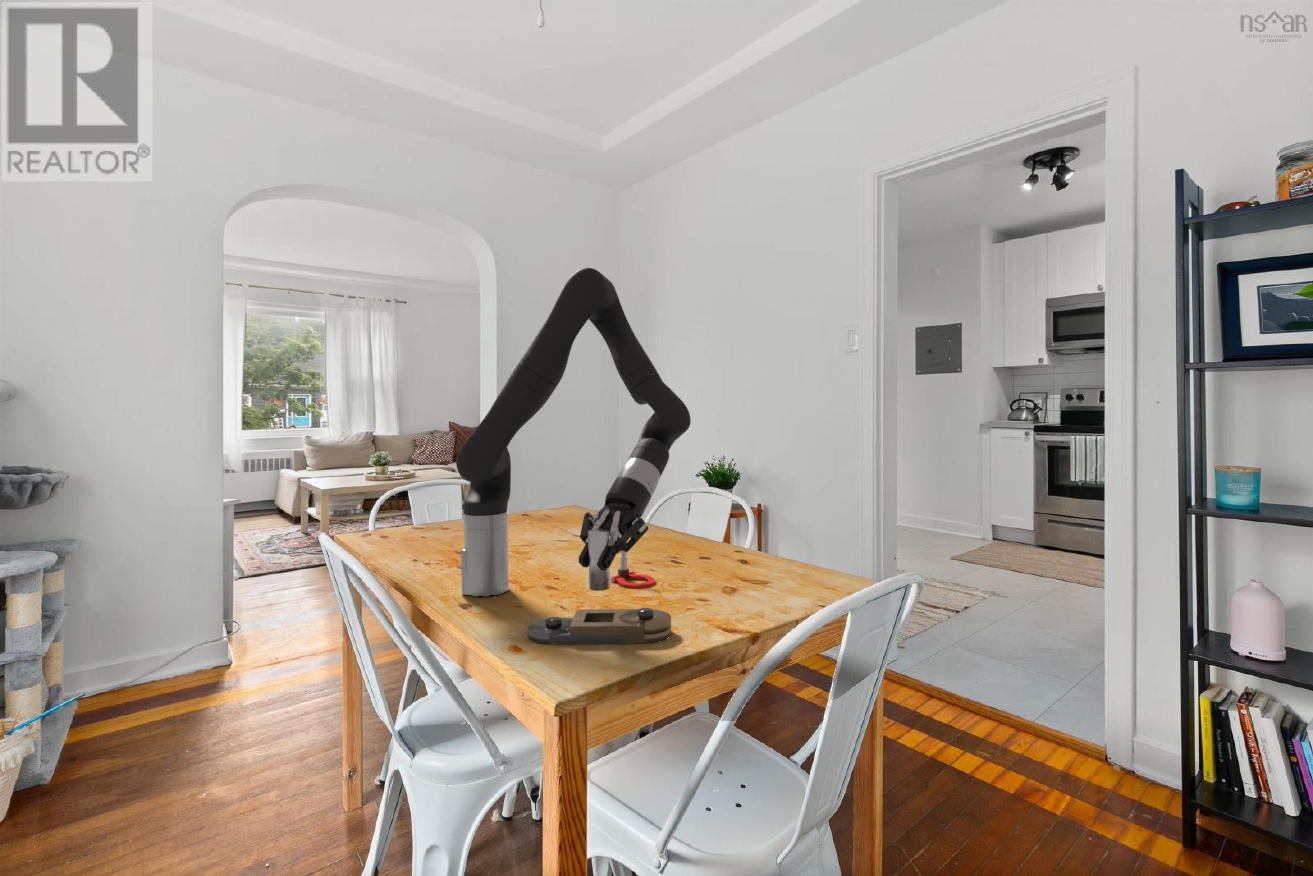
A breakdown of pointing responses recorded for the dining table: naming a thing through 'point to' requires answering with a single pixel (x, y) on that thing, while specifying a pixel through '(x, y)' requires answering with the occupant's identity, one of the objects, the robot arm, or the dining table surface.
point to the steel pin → (596, 547)
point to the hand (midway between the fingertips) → (591, 566)
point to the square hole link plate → (603, 627)
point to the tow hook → (630, 575)
